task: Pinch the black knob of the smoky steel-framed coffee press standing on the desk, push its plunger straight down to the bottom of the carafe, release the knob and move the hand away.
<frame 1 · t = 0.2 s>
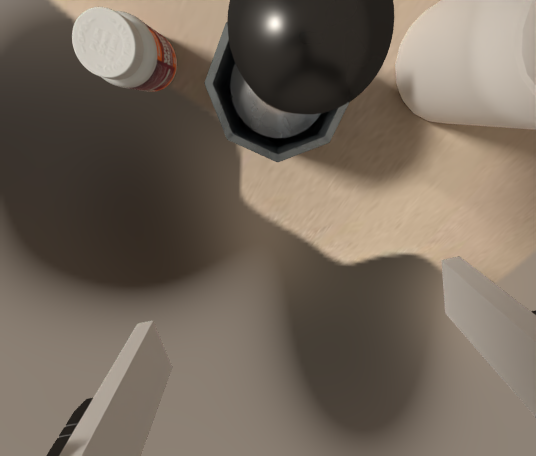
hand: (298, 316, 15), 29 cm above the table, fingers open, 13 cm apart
plunger: (286, 74, 19), point 21 cm above the table, slide at 0.0 cm
can: (447, 64, 38), on the table
carafe: (276, 93, 39), on the table
pill bottle: (151, 62, 38), on the table
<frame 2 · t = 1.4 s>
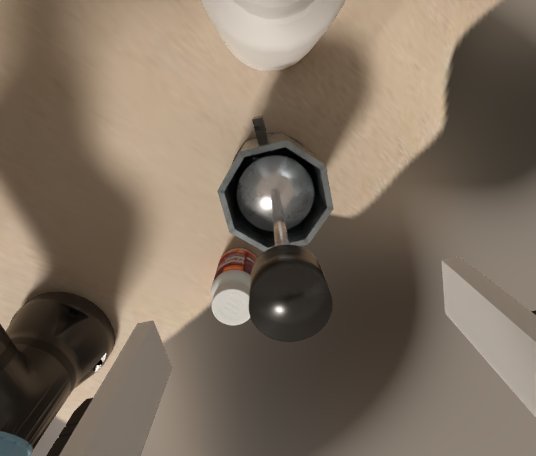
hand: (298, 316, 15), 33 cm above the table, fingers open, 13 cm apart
plunger: (279, 227, 27), point 21 cm above the table, slide at 0.0 cm
can: (269, 15, 41), on the table
carafe: (272, 176, 47), on the table
pill bottle: (239, 265, 52), on the table
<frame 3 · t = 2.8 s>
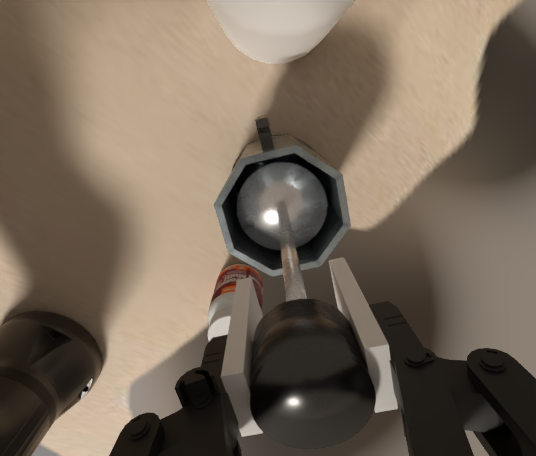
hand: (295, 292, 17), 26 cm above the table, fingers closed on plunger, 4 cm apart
plunger: (289, 255, 22), point 21 cm above the table, slide at 0.0 cm, touching gripper
carafe: (278, 184, 41), on the table
pill bottle: (240, 282, 46), on the table
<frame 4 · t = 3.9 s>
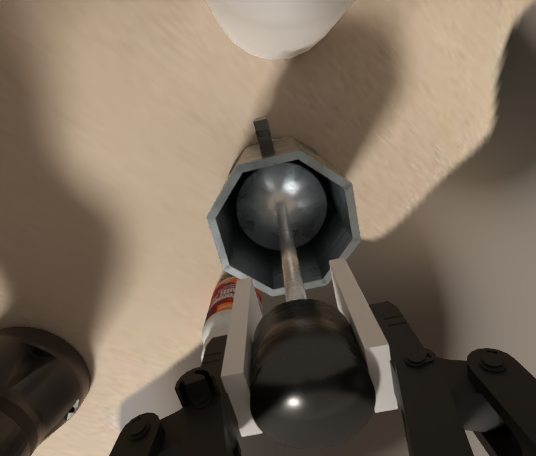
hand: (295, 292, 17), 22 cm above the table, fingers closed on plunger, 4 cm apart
plunger: (289, 255, 22), point 18 cm above the table, slide at 3.5 cm, touching gripper
carafe: (278, 191, 38), on the table
pill bottle: (237, 295, 43), on the table
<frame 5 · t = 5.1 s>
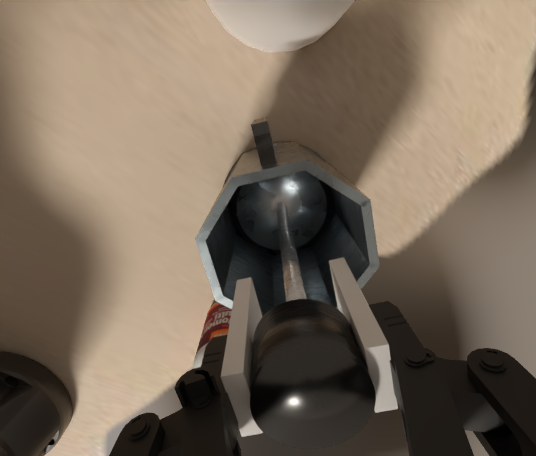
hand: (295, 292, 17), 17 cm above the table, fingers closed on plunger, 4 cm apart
plunger: (289, 255, 22), point 13 cm above the table, slide at 8.1 cm, touching gripper
carafe: (280, 202, 34), on the table
pill bottle: (234, 317, 39), on the table
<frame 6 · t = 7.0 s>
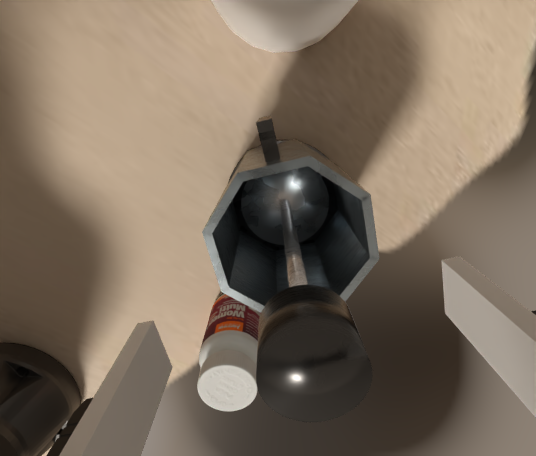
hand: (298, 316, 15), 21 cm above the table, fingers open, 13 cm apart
plunger: (292, 248, 23), point 13 cm above the table, slide at 8.1 cm
carafe: (284, 198, 35), on the table
pill bottle: (238, 310, 39), on the table
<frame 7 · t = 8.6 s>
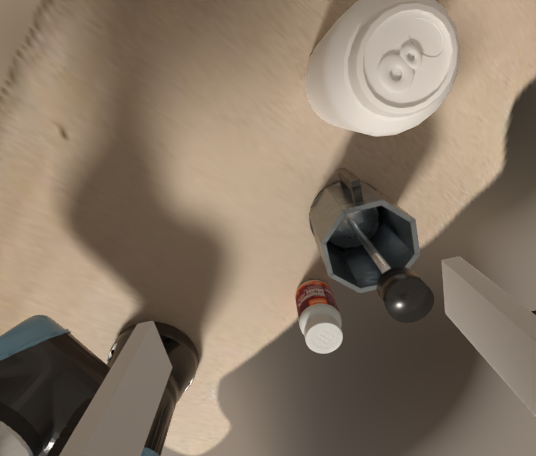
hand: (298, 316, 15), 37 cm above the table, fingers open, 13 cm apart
plunger: (371, 250, 40), point 13 cm above the table, slide at 8.1 cm
can: (349, 79, 46), on the table
carafe: (347, 216, 52), on the table
pill bottle: (313, 294, 57), on the table
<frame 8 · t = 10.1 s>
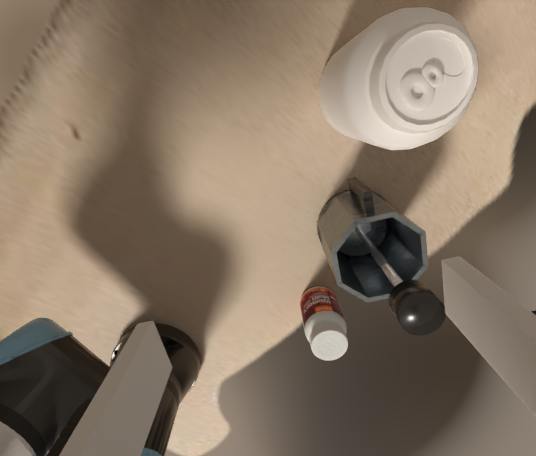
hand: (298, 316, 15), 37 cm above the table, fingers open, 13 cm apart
plunger: (381, 260, 41), point 13 cm above the table, slide at 8.1 cm
can: (362, 90, 47), on the table
carafe: (354, 225, 53), on the table
pill bottle: (317, 300, 58), on the table
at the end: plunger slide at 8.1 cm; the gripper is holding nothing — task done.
